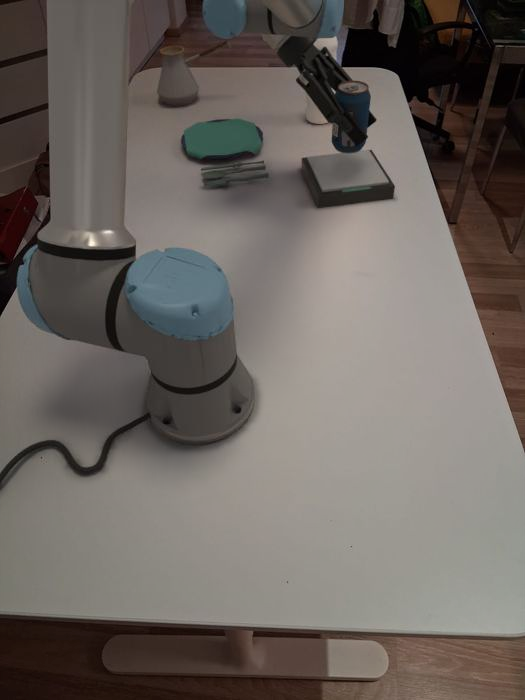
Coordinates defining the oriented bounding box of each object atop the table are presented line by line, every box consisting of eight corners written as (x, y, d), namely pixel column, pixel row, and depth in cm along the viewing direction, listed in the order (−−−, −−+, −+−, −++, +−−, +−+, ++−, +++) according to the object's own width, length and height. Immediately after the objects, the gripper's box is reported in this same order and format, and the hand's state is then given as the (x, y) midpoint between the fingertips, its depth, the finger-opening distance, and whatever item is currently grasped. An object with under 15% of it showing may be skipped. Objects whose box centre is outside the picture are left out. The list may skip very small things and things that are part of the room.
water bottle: (300, 119, 138) (301, 8, 120) (319, 110, 141) (323, 0, 123) (319, 127, 135) (324, 14, 116) (339, 118, 138) (346, 7, 119)
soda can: (354, 136, 113) (360, 76, 105) (371, 150, 109) (378, 89, 100) (325, 143, 112) (328, 83, 103) (341, 158, 107) (345, 96, 98)
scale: (317, 207, 110) (318, 193, 108) (301, 169, 121) (301, 155, 119) (393, 198, 112) (395, 183, 109) (370, 161, 122) (371, 147, 120)
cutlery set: (256, 122, 138) (256, 113, 136) (278, 181, 118) (278, 171, 116) (179, 131, 136) (178, 122, 135) (187, 192, 116) (186, 182, 114)
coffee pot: (155, 109, 146) (144, 48, 135) (163, 91, 154) (153, 33, 143) (232, 108, 144) (228, 47, 133) (237, 91, 152) (233, 32, 141)
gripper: (292, 33, 108) (364, 122, 116) (257, 69, 96) (340, 167, 103) (319, 4, 103) (392, 100, 110) (285, 39, 90) (370, 144, 98)
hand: (366, 132), depth 107 cm, fingers closed on soda can, 7 cm apart
